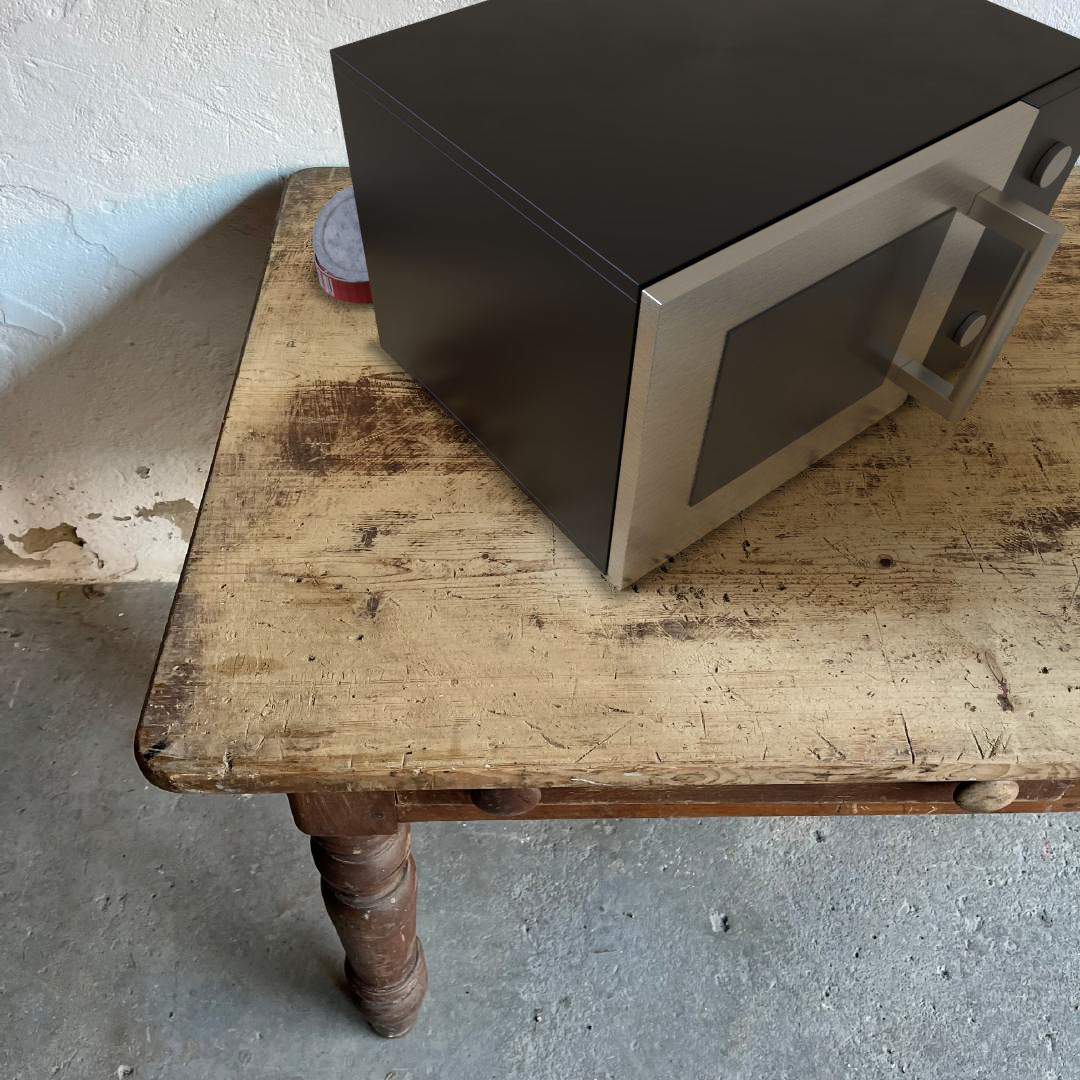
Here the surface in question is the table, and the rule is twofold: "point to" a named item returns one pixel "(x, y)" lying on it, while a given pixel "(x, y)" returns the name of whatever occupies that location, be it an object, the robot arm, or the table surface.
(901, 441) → the table surface
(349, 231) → the canned food
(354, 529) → the table surface
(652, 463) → the microwave door
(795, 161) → the microwave
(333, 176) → the table surface
